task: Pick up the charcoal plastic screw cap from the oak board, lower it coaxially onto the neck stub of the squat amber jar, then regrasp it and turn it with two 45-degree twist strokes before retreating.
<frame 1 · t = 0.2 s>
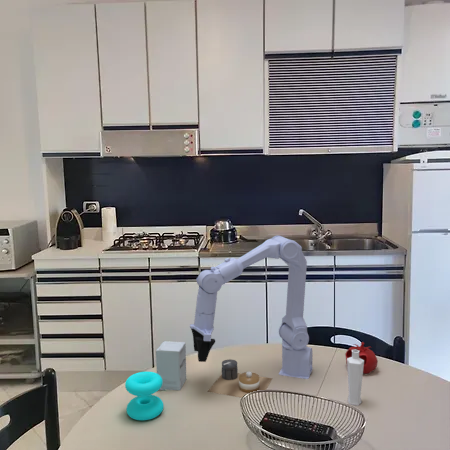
hand: (199, 356, 138), 10 cm above the table, tool pointing down, fingers open, 7 cm apart
donuts: (145, 413, 127), on the table
perfume bottle: (354, 402, 131), on the table
cap: (229, 376, 146), resting on board
jar: (249, 387, 138), resting on board
board: (240, 386, 140), on the table
pomegranate: (360, 370, 150), on the table
supplement box: (172, 385, 142), on the table
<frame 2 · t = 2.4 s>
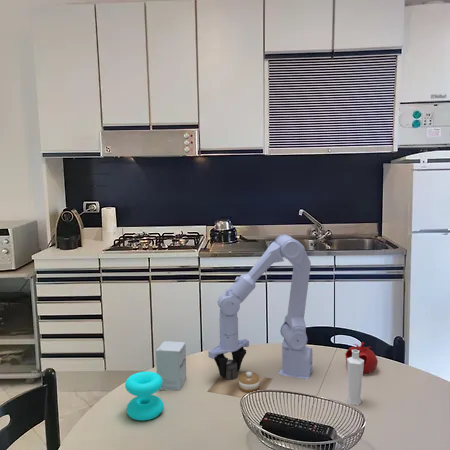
hand: (229, 373, 146), 1 cm above the table, tool pointing down, fingers closed on cap, 5 cm apart
cap: (229, 376, 146), resting on board, touching gripper
everything else where it was.
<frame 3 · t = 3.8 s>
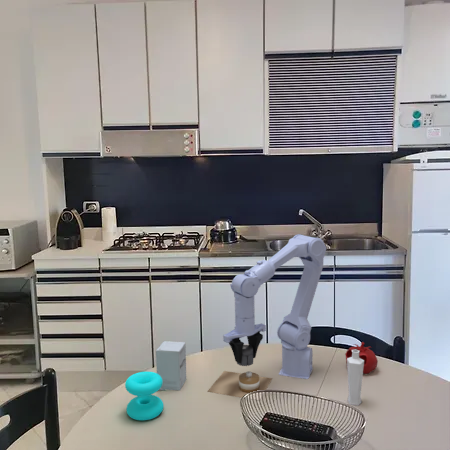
hand: (245, 359, 138), 9 cm above the table, tool pointing down, fingers closed on cap, 5 cm apart
cap: (245, 362, 139), point 8 cm above the table, touching gripper
everything else where it was.
when the fingers open (6 cm above the table, at t = 5.2 s): cap stays where it is, resting on jar.
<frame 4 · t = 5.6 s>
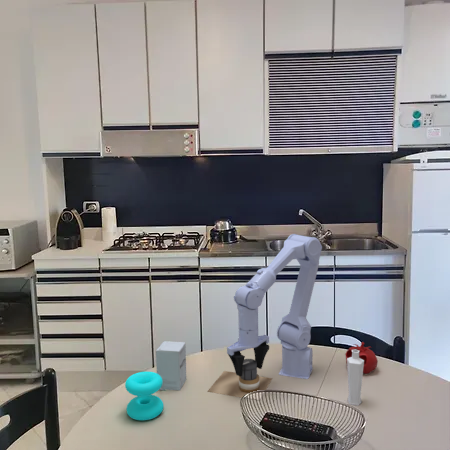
hand: (249, 371, 138), 6 cm above the table, tool pointing down, fingers open, 7 cm apart
cap: (248, 376, 138), point 4 cm above the table, touching jar
everything else where it was.
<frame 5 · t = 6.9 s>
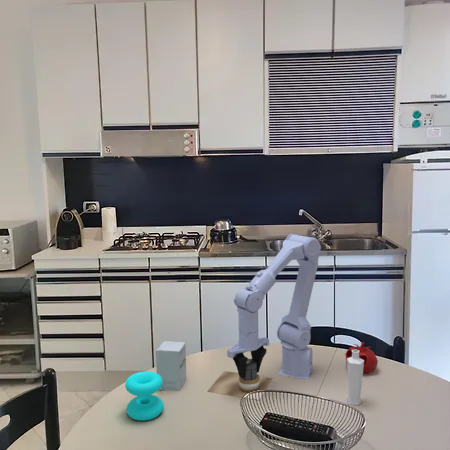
hand: (249, 373, 138), 5 cm above the table, tool pointing down, fingers closed on cap, 5 cm apart
cap: (248, 376, 138), point 4 cm above the table, touching gripper, jar
everything else where it was.
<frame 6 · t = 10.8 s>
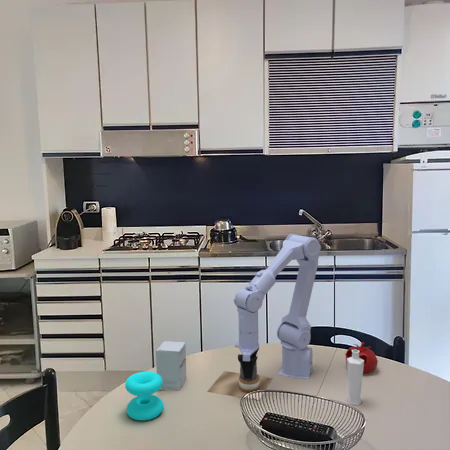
hand: (249, 373, 138), 5 cm above the table, tool pointing down, fingers closed on cap, 5 cm apart
cap: (248, 376, 138), point 4 cm above the table, touching gripper
everything else where it was.
when the fingers open (5 cm above the table, at t = 11.2 s): cap stays where it is, resting on jar.
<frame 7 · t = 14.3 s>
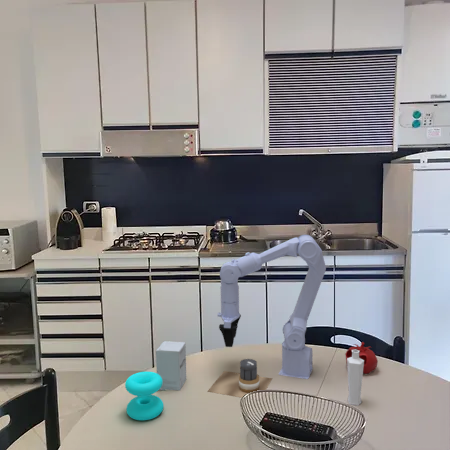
hand: (230, 341, 148), 10 cm above the table, tool pointing down, fingers open, 7 cm apart
cap: (248, 376, 138), point 4 cm above the table, touching jar
everything else where it was.
at the end: cap 0.1 cm off-centre on the jar, point 3.5 cm above the jar's base; cap tilted 0°; the gripper is holding nothing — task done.
